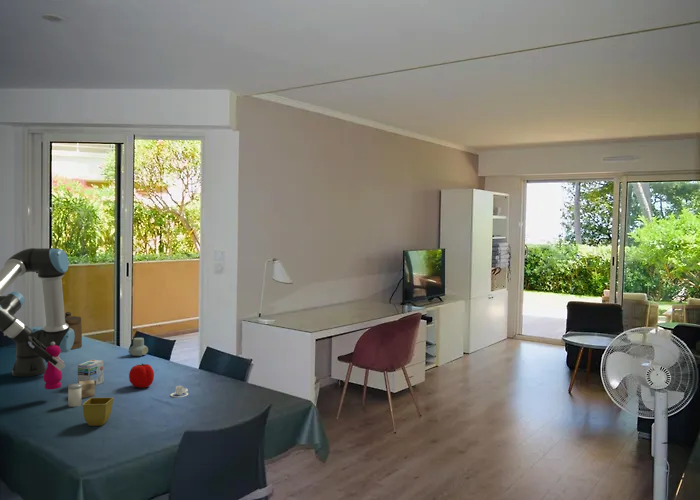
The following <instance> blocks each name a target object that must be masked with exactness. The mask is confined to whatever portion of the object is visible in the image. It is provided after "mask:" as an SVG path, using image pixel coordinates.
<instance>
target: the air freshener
mask: <svg viewBox="0 0 700 500" xmlns="http://www.w3.org/2000/svg"><path fill="white" fill-rule="evenodd" d="M148 352H149V347H148V346H147V345H145V339H144V337H134V338H133V339H132V346H130V347H129V349H128V354H129V355H131V356H133V357H143V356H142V355H144V356H145V355H146V354H147V353H148Z"/></svg>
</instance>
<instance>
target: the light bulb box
mask: <svg viewBox="0 0 700 500" xmlns="http://www.w3.org/2000/svg"><path fill="white" fill-rule="evenodd" d="M104 365H105V363H104V360H100V359H99V360H98V359H90V360H88V361H85V362H81V363H79V364H77V383H79V381H88V380H94V383H95V387H96V386H99V385H101V384H102V383H103V384H104V372H105V371H104Z"/></svg>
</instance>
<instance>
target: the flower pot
mask: <svg viewBox="0 0 700 500" xmlns="http://www.w3.org/2000/svg"><path fill="white" fill-rule="evenodd" d="M113 404H114V397H89V399H87V400H86V401H84V403H81V405H82V412H83V417H84V421H85V422H86V424H87V425H88V427H89V426H93V427H94V426H97V427H98V426H99V427H100V426H103V425H105V424H106V423H107V422H108V420H109V418H110V417H111V414H112V411H113V410H112V409H113Z"/></svg>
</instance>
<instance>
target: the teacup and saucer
mask: <svg viewBox="0 0 700 500" xmlns="http://www.w3.org/2000/svg"><path fill="white" fill-rule="evenodd" d="M174 389H175V390H174V392H172V393H170V396H171V397H172V398H173V397H174V398H184V397H187V396H188V395H189V392H188V391H189V390H188V388H184V385H177V386H176V387H175V388H174ZM183 394H185V395H183ZM175 395H176V396H175Z"/></svg>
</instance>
